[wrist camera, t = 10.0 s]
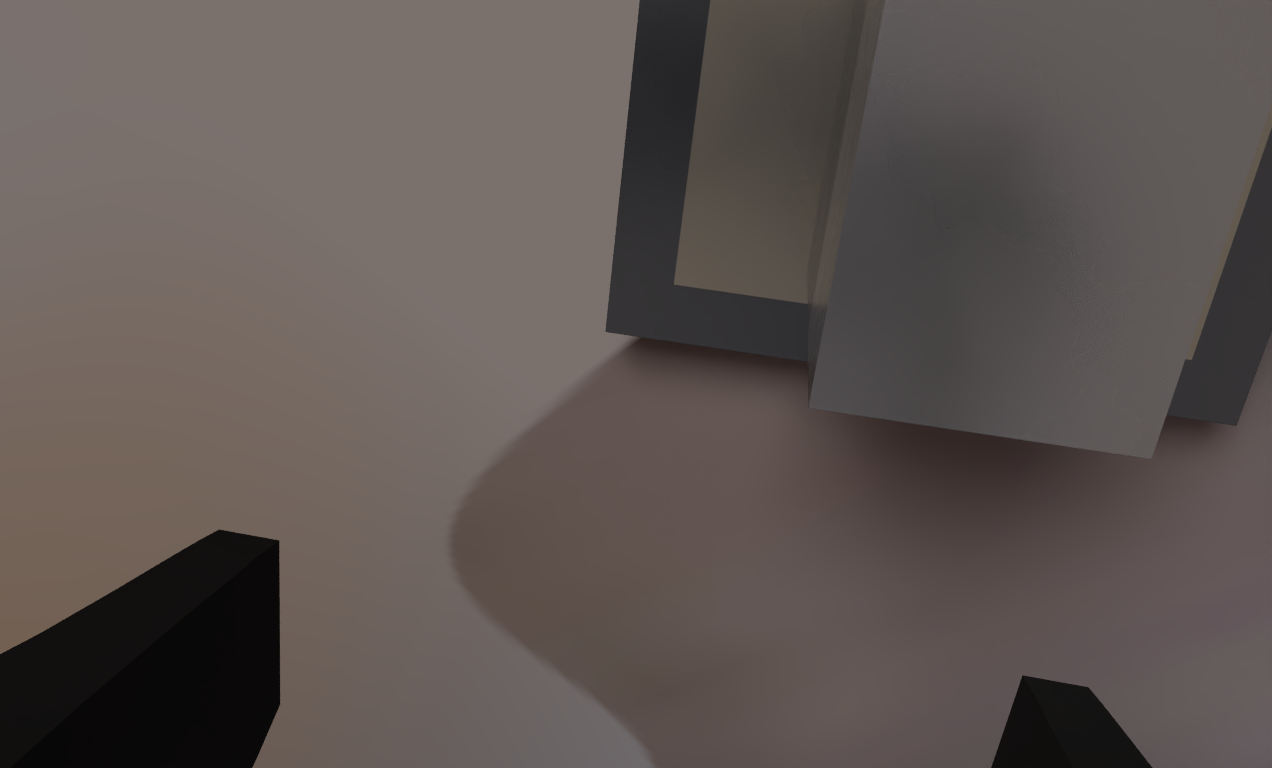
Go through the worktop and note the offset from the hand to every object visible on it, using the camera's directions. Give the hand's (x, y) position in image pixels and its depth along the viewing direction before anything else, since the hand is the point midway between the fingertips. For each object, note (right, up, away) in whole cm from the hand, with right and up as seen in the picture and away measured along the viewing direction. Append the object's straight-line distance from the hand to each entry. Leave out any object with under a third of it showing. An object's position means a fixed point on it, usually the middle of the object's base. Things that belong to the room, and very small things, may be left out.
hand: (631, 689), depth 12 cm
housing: (+5, +8, +5) cm, 10 cm away
